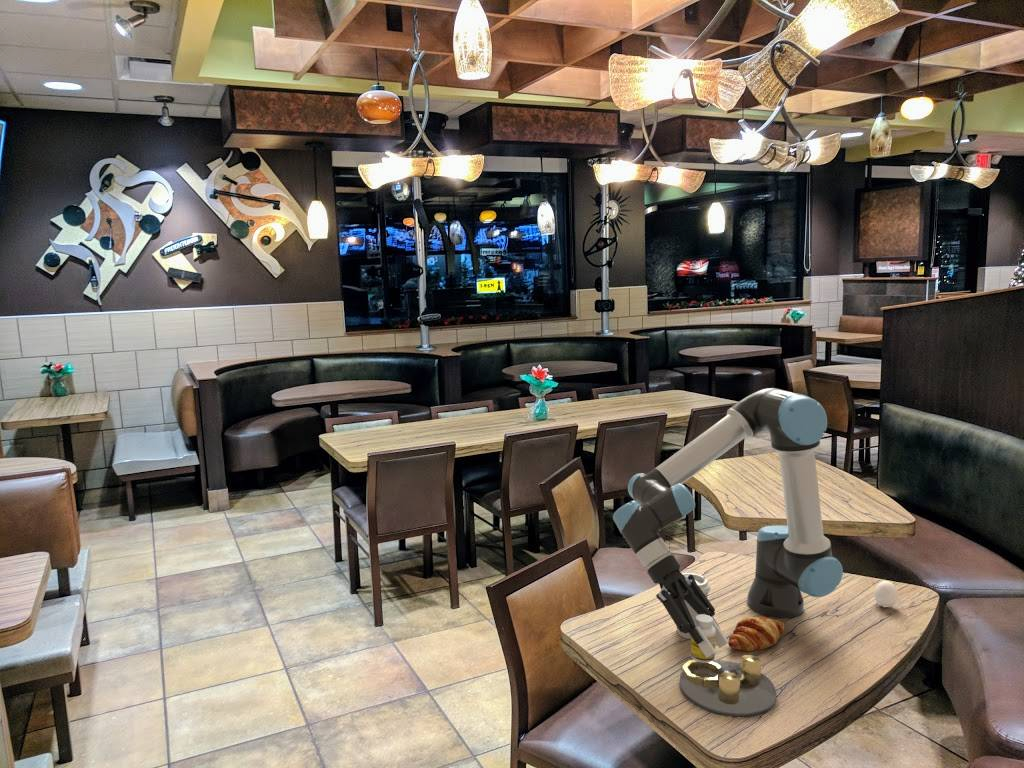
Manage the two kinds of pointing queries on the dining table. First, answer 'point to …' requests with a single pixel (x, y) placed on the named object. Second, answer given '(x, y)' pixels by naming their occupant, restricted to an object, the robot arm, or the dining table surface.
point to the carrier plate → (746, 693)
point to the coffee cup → (705, 589)
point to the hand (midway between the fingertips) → (717, 649)
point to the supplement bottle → (707, 627)
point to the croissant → (755, 633)
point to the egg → (886, 594)
